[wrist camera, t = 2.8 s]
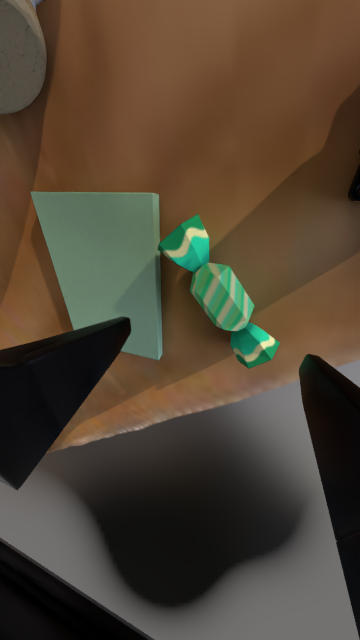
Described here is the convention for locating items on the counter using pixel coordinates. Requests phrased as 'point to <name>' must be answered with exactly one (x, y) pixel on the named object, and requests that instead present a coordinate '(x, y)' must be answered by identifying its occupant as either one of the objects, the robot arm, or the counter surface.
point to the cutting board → (107, 260)
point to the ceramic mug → (20, 55)
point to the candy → (219, 292)
